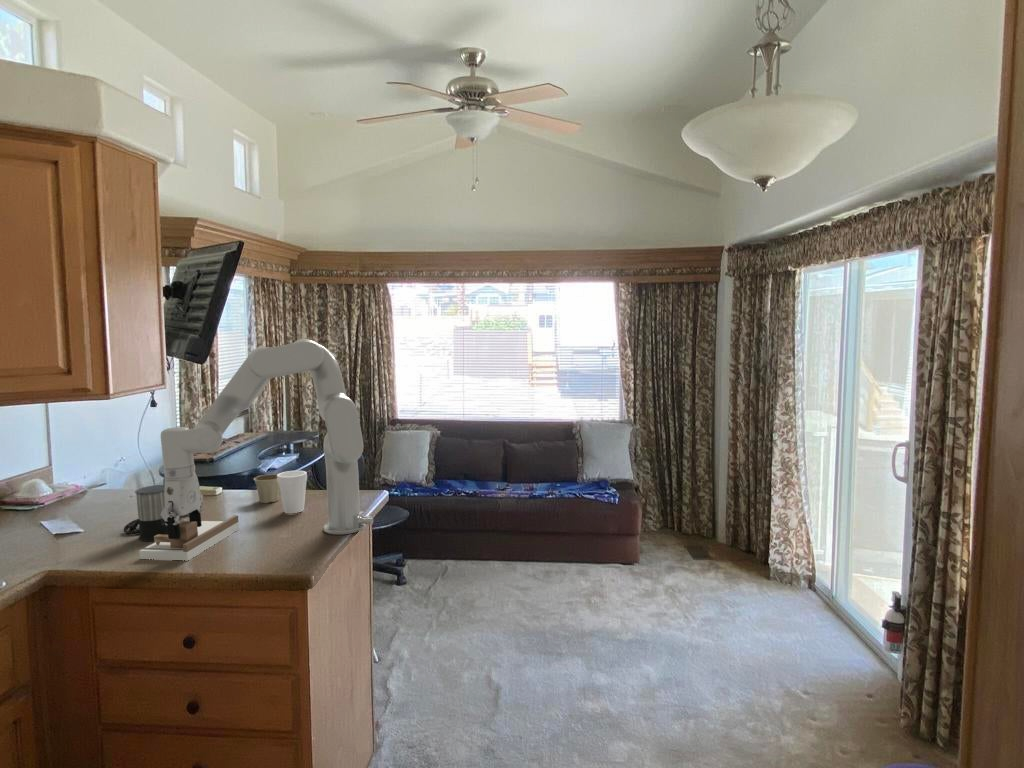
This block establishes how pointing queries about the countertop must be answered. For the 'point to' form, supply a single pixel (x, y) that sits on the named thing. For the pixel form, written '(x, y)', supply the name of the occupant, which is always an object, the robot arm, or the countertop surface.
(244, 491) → the countertop surface
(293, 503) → the foam cup
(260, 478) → the flower pot
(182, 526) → the wooden block
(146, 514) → the milk frother
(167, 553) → the board
